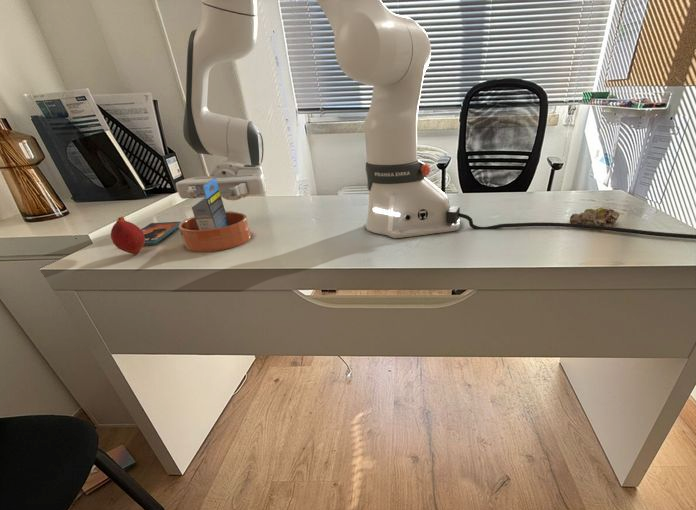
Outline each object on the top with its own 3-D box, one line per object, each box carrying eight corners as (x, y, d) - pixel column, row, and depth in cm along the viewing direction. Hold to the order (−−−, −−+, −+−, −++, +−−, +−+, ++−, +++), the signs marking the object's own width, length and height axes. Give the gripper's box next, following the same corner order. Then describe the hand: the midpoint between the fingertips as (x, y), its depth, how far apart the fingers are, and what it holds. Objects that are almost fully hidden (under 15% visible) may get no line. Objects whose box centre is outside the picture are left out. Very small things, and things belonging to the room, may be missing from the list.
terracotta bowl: (257, 229, 95) (252, 210, 92) (242, 249, 83) (236, 228, 81) (199, 232, 95) (192, 214, 92) (175, 253, 83) (167, 232, 80)
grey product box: (216, 233, 92) (198, 178, 85) (232, 232, 92) (216, 177, 85) (203, 246, 85) (183, 186, 78) (221, 244, 85) (203, 185, 78)
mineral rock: (608, 206, 91) (627, 205, 84) (606, 225, 93) (625, 226, 85) (562, 210, 91) (577, 209, 84) (561, 229, 93) (576, 230, 85)
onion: (136, 259, 81) (119, 221, 76) (113, 258, 82) (95, 220, 77) (156, 250, 85) (141, 213, 81) (134, 249, 86) (118, 212, 82)
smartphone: (118, 243, 87) (150, 222, 100) (121, 249, 88) (152, 228, 100) (153, 240, 87) (181, 219, 99) (156, 246, 88) (183, 225, 100)
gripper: (185, 170, 96) (160, 181, 85) (267, 165, 97) (253, 175, 86) (193, 196, 100) (171, 210, 88) (273, 191, 100) (260, 205, 89)
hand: (212, 193), depth 87 cm, fingers open, 8 cm apart
